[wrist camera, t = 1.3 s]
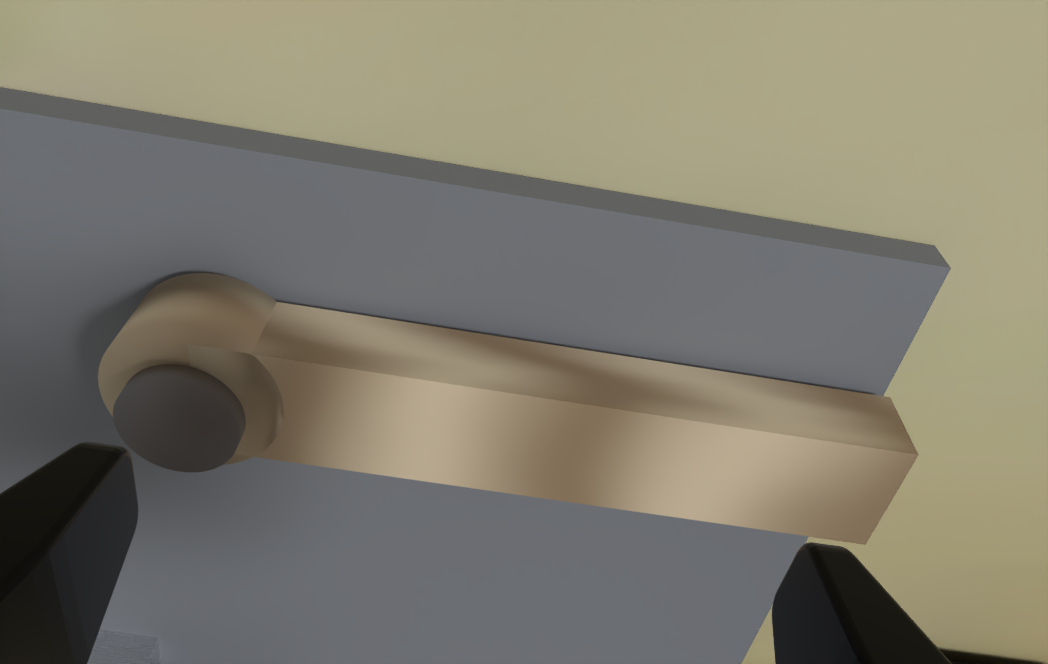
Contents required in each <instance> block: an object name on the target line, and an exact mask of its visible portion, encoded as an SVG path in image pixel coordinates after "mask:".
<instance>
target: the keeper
mask: <svg viewBox="0 0 1048 664" xmlns="http://www.w3.org/2000/svg"><path fill="white" fill-rule="evenodd" d="M87 664H161V658H160V650H159V642H158V637H153V636H145V635H138V634H130V633H122V632H114V631H106V630H99V633H98V635H97V638H96V641H95V644H94V646H93V649H92V652H91V655H90V658H89V660H88V663H87Z"/></svg>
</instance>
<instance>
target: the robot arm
mask: <svg viewBox="0 0 1048 664" xmlns="http://www.w3.org/2000/svg"><path fill="white" fill-rule="evenodd" d="M138 512H139V508H138V499H137V492H136V484H135V477H134V469H133V462H132V457H131V454H130V452H129V451H128V450H127V449H126V448H124V447H122V446H117V445H109V444H102V443H95V442H82V443H79V444H77V445H75V446H73V447H71V448H70V449H68V450H67V451H65V452H64V453H62V454H60V455H59V456H57V457H56V458H54V459H53V460H51V461H50V462H48V463H46V464H45V465H43V466H42V467H40V468H39V469H37V470H36V471H34V472H33V473H31V474H29V475H28V476H26V477H25V478H23V479H22V480H20V481H19V482H17V483H16V484H14V485H12V486H11V487H9V488H8V489H6V490H5V491H3V492H2V493H0V664H87V663H88V660H89V658H90V655H91V652H92V649H93V646H94V644H95V641H96V638H97V635H98V633H99V630H100V627H101V624H102V622H103V619H104V616H105V613H106V611H107V608H108V605H109V602H110V600H111V597H112V594H113V591H114V589H115V586H116V583H117V580H118V578H119V575H120V572H121V569H122V566H123V564H124V561H125V558H126V555H127V553H128V550H129V547H130V544H131V542H132V539H133V536H134V533H135V530H136V526H137V521H138ZM772 624H773V637H774V650H775V662H776V664H972V663H965V662H957V661H950V660H948V659H947V658H946V657H945V655H944V654H943V653H942V652H941V651H940V650H939V649H938V648H937V647H936V645H935V644H934V643H933V642H932V641H931V640H930V639H929V638H928V637H927V635H926V634H925V633H924V632H923V631H922V630H921V629H920V628H919V627H918V625H917V624H916V623H915V622H914V621H913V620H912V619H911V618H910V617H909V615H908V614H907V613H906V612H905V611H904V610H903V609H902V608H901V607H900V605H899V604H898V603H897V602H896V601H895V600H894V599H893V598H892V597H891V595H890V594H889V593H888V592H887V591H886V590H885V589H884V588H883V587H882V585H881V584H880V583H879V582H878V581H877V580H876V579H875V578H874V577H873V575H872V574H871V573H870V572H869V571H868V570H867V569H866V568H865V567H864V565H863V564H862V563H861V562H860V561H859V560H858V559H857V558H856V557H855V555H853V554H852V553H851V552H850V551H849V550H847V549H846V548H843V547H840V546H833V545H826V544H819V543H812V542H811V543H806V544H804V545H803V546H801V547H800V548H799V550H798V551H797V553H796V555H795V557H794V559H793V561H792V563H791V565H790V567H789V568H788V570H787V572H786V574H785V576H784V578H783V580H782V582H781V584H780V586H779V588H778V590H777V592H776V594H775V597H774V601H773V607H772Z"/></svg>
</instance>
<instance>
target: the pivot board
mask: <svg viewBox="0 0 1048 664" xmlns="http://www.w3.org/2000/svg"><path fill="white" fill-rule="evenodd" d="M950 269H951V268H950V266H949V265H948V264H947V262H946V261H945V259H944V258H943V257H942V255H941V254H940V252H939V251H938V250H937V248H936V247H935V246H933V245H927V244H922V243H916V242H910V241H904V240H898V239H892V238H886V237H880V236H874V235H868V234H863V233H857V232H851V231H845V230H839V229H833V228H827V227H821V226H815V225H809V224H804V223H798V222H792V221H786V220H780V219H774V218H768V217H762V216H756V215H750V214H745V213H739V212H733V211H727V210H721V209H715V208H709V207H703V206H697V205H692V204H686V203H680V202H674V201H668V200H662V199H656V198H650V197H644V196H638V195H633V194H627V193H621V192H615V191H609V190H603V189H597V188H591V187H585V186H579V185H574V184H568V183H562V182H556V181H550V180H544V179H538V178H532V177H526V176H520V175H515V174H509V173H503V172H497V171H491V170H485V169H479V168H473V167H467V166H461V165H456V164H450V163H444V162H438V161H432V160H426V159H420V158H414V157H408V156H402V155H397V154H391V153H385V152H379V151H373V150H367V149H361V148H355V147H349V146H343V145H338V144H332V143H326V142H320V141H314V140H308V139H302V138H296V137H290V136H284V135H279V134H273V133H267V132H261V131H255V130H249V129H243V128H237V127H231V126H226V125H220V124H214V123H208V122H202V121H196V120H190V119H184V118H178V117H172V116H167V115H161V114H155V113H149V112H143V111H137V110H131V109H125V108H119V107H113V106H108V105H102V104H96V103H90V102H84V101H78V100H72V99H66V98H60V97H54V96H49V95H43V94H37V93H31V92H25V91H19V90H13V89H7V88H1V87H0V493H2V492H3V491H5V490H6V489H8V488H9V487H11V486H12V485H14V484H16V483H17V482H19V481H20V480H22V479H23V478H25V477H26V476H28V475H29V474H31V473H33V472H34V471H36V470H37V469H39V468H40V467H42V466H43V465H45V464H46V463H48V462H50V461H51V460H53V459H54V458H56V457H57V456H59V455H60V454H62V453H64V452H65V451H67V450H68V449H70V448H71V447H73V446H75V445H77V444H79V443H82V442H95V443H102V444H109V445H117V446H122V447H124V448H126V449H127V450H128V451H129V452H130V454H131V457H132V462H133V469H134V477H135V484H136V492H137V499H138V508H139V512H138V521H137V526H136V530H135V533H134V536H133V539H132V542H131V544H130V547H129V550H128V553H127V555H126V558H125V561H124V564H123V566H122V569H121V572H120V575H119V578H118V580H117V583H116V586H115V589H114V591H113V594H112V597H111V600H110V602H109V605H108V608H107V611H106V613H105V616H104V619H103V622H102V624H101V627H100V630H106V631H114V632H122V633H130V634H138V635H145V636H153V637H158V642H159V650H160V658H161V664H741V663H742V661H743V659H744V657H745V655H746V653H747V652H748V650H749V648H750V646H751V644H752V642H753V640H754V638H755V636H756V635H757V633H758V631H759V629H760V627H761V625H762V623H763V621H764V619H765V618H766V616H767V614H768V612H769V610H770V608H771V606H772V604H773V601H774V597H775V594H776V592H777V590H778V588H779V586H780V584H781V582H782V580H783V578H784V576H785V574H786V572H787V570H788V568H789V567H790V565H791V563H792V561H793V559H794V557H795V555H796V553H797V551H798V550H799V548H800V547H801V546H803V545H804V544H805V542H806V540H807V538H808V537H809V536H802V535H795V534H788V533H781V532H774V531H767V530H760V529H753V528H746V527H739V526H732V525H725V524H718V523H711V522H704V521H698V520H691V519H684V518H677V517H670V516H663V515H656V514H649V513H642V512H635V511H628V510H621V509H614V508H607V507H600V506H593V505H586V504H579V503H572V502H565V501H558V500H551V499H544V498H537V497H530V496H523V495H516V494H509V493H502V492H495V491H488V490H481V489H474V488H467V487H460V486H453V485H446V484H439V483H432V482H425V481H418V480H411V479H404V478H397V477H390V476H383V475H376V474H369V473H362V472H355V471H348V470H341V469H334V468H327V467H320V466H313V465H306V464H299V463H292V462H286V461H279V460H272V459H265V458H258V457H252V458H250V459H247V460H244V461H241V462H238V463H233V464H227V465H222V466H219V467H217V468H215V469H212V470H209V471H204V472H196V473H191V472H179V471H173V470H169V469H166V468H163V467H160V466H157V465H155V464H153V463H151V462H149V461H147V460H145V459H143V458H142V457H140V456H139V455H138V454H136V453H135V452H134V451H133V450H131V449H130V448H129V447H128V446H127V445H126V443H125V442H124V441H123V440H122V438H121V437H120V435H119V434H118V432H117V430H116V427H115V425H114V420H113V417H112V415H111V414H110V413H109V411H108V409H107V407H106V406H105V404H104V401H103V399H102V396H101V393H100V389H99V384H98V372H99V366H100V362H101V359H102V357H103V355H104V353H105V352H106V350H107V349H108V347H109V346H110V344H111V343H112V342H113V340H114V339H115V337H116V336H117V335H118V333H119V332H120V330H121V329H122V328H123V326H124V325H125V323H126V322H127V321H128V319H129V318H130V316H131V315H132V314H133V312H134V311H135V309H136V308H137V307H138V305H139V304H140V303H141V301H142V300H143V298H144V297H145V296H146V295H147V294H148V292H149V291H151V290H152V289H153V288H154V287H155V286H157V285H158V284H160V283H162V282H163V281H165V280H168V279H170V278H173V277H176V276H180V275H184V274H192V273H211V274H219V275H224V276H229V277H232V278H235V279H238V280H241V281H244V282H246V283H248V284H250V285H253V286H254V287H256V288H258V289H260V290H262V291H263V292H265V293H266V294H267V295H269V296H270V297H272V298H273V299H274V300H275V301H276V302H281V303H288V304H294V305H301V306H307V307H313V308H320V309H326V310H333V311H339V312H346V313H352V314H358V315H365V316H371V317H378V318H384V319H390V320H397V321H403V322H410V323H416V324H422V325H429V326H435V327H442V328H448V329H455V330H461V331H467V332H474V333H480V334H487V335H493V336H499V337H506V338H512V339H519V340H525V341H531V342H538V343H544V344H551V345H557V346H564V347H570V348H576V349H583V350H589V351H596V352H602V353H608V354H615V355H621V356H628V357H634V358H640V359H647V360H653V361H660V362H666V363H672V364H679V365H685V366H692V367H698V368H705V369H711V370H717V371H724V372H730V373H737V374H743V375H749V376H756V377H762V378H769V379H775V380H781V381H788V382H794V383H801V384H807V385H814V386H820V387H826V388H833V389H839V390H846V391H852V392H858V393H865V394H871V395H878V396H883V395H884V393H885V391H886V389H887V388H888V386H889V384H890V382H891V380H892V378H893V376H894V374H895V372H896V371H897V369H898V367H899V365H900V363H901V361H902V359H903V357H904V355H905V354H906V352H907V350H908V348H909V346H910V344H911V342H912V340H913V339H914V337H915V335H916V333H917V331H918V329H919V327H920V325H921V323H922V322H923V320H924V318H925V316H926V314H927V312H928V310H929V308H930V306H931V305H932V303H933V301H934V299H935V297H936V295H937V293H938V291H939V289H940V288H941V286H942V284H943V282H944V280H945V278H946V276H947V274H948V273H949V271H950Z"/></svg>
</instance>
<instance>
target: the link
mask: <svg viewBox="0 0 1048 664" xmlns="http://www.w3.org/2000/svg"><path fill="white" fill-rule="evenodd" d="M98 384H99V389H100V393H101V396H102V399H103V401H104V404H105V406H106V407H107V409H108V411H109V413H110V414H111V415H112V417H113V420H114V425H115V427H116V430H117V432H118V434H119V435H120V437H121V438H122V440H123V441H124V442H125V443H126V445H127V446H128V447H129V448H130V449H131V450H133V451H134V452H135V453H136V454H138V455H139V456H140V457H142V458H143V459H145V460H147V461H149V462H151V463H153V464H155V465H157V466H160V467H163V468H166V469H169V470H173V471H179V472H191V473H196V472H204V471H209V470H212V469H215V468H217V467H219V466H222V465H227V464H233V463H238V462H241V461H244V460H247V459H250V458H252V457H258V458H265V459H272V460H279V461H286V462H292V463H299V464H306V465H313V466H320V467H327V468H334V469H341V470H348V471H355V472H362V473H369V474H376V475H383V476H390V477H397V478H404V479H411V480H418V481H425V482H432V483H439V484H446V485H453V486H460V487H467V488H474V489H481V490H488V491H495V492H502V493H509V494H516V495H523V496H530V497H537V498H544V499H551V500H558V501H565V502H572V503H579V504H586V505H593V506H600V507H607V508H614V509H621V510H628V511H635V512H642V513H649V514H656V515H663V516H670V517H677V518H684V519H691V520H698V521H704V522H711V523H718V524H725V525H732V526H739V527H746V528H753V529H760V530H767V531H774V532H781V533H788V534H795V535H802V536H809V537H816V538H823V539H830V540H837V541H844V542H851V543H858V544H866V543H867V541H868V539H869V538H870V536H871V534H872V533H873V531H874V529H875V528H876V526H877V524H878V522H879V521H880V519H881V517H882V516H883V514H884V512H885V511H886V509H887V507H888V506H889V504H890V502H891V500H892V499H893V497H894V495H895V494H896V492H897V490H898V489H899V487H900V485H901V484H902V482H903V480H904V478H905V477H906V475H907V473H908V472H909V470H910V468H911V467H912V465H913V463H914V462H915V460H916V458H917V456H918V453H917V451H916V449H915V447H914V445H913V443H912V441H911V439H910V437H909V435H908V433H907V431H906V429H905V427H904V425H903V422H902V420H901V418H900V416H899V414H898V412H897V410H896V408H895V406H894V404H893V402H892V400H891V398H890V397H884V396H878V395H871V394H865V393H858V392H852V391H846V390H839V389H833V388H826V387H820V386H814V385H807V384H801V383H794V382H788V381H781V380H775V379H769V378H762V377H756V376H749V375H743V374H737V373H730V372H724V371H717V370H711V369H705V368H698V367H692V366H685V365H679V364H672V363H666V362H660V361H653V360H647V359H640V358H634V357H628V356H621V355H615V354H608V353H602V352H596V351H589V350H583V349H576V348H570V347H564V346H557V345H551V344H544V343H538V342H531V341H525V340H519V339H512V338H506V337H499V336H493V335H487V334H480V333H474V332H467V331H461V330H455V329H448V328H442V327H435V326H429V325H422V324H416V323H410V322H403V321H397V320H390V319H384V318H378V317H371V316H365V315H358V314H352V313H346V312H339V311H333V310H326V309H320V308H313V307H307V306H301V305H294V304H288V303H281V302H276V301H275V300H274V299H273V298H272V297H270V296H269V295H267V294H266V293H265V292H263V291H262V290H260V289H258V288H256V287H254V286H253V285H250V284H248V283H246V282H244V281H241V280H238V279H235V278H232V277H229V276H224V275H219V274H211V273H192V274H184V275H180V276H176V277H173V278H170V279H168V280H165V281H163V282H162V283H160V284H158V285H157V286H155V287H154V288H153V289H152V290H151V291H149V292H148V294H147V295H146V296H145V297H144V298H143V300H142V301H141V303H140V304H139V305H138V307H137V308H136V309H135V311H134V312H133V314H132V315H131V316H130V318H129V319H128V321H127V322H126V323H125V325H124V326H123V328H122V329H121V330H120V332H119V333H118V335H117V336H116V337H115V339H114V340H113V342H112V343H111V344H110V346H109V347H108V349H107V350H106V352H105V353H104V355H103V357H102V359H101V362H100V366H99V372H98Z"/></svg>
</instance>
